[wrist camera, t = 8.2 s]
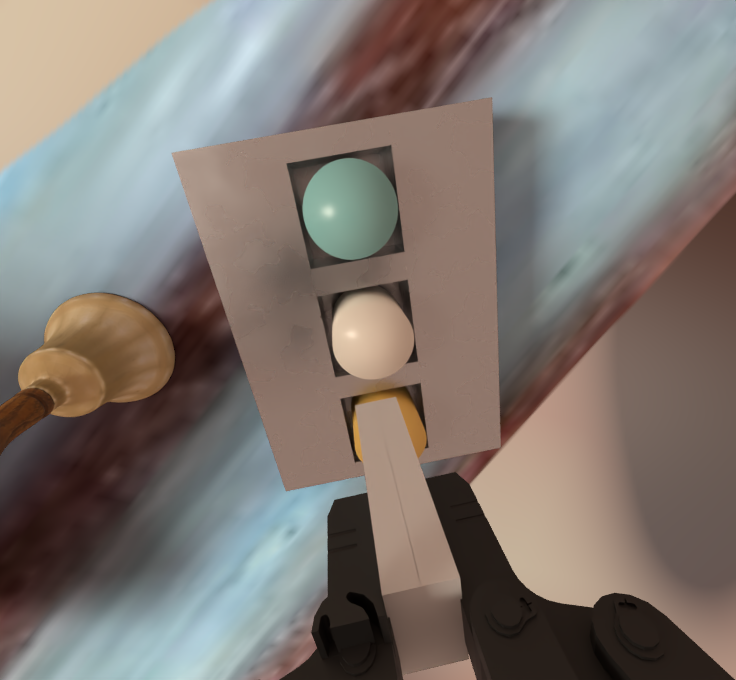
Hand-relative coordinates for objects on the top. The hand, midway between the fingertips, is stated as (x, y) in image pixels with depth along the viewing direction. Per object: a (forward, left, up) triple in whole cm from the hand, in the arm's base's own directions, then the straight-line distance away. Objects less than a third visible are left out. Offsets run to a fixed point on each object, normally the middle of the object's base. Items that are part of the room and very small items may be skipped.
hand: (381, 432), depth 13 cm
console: (+1, 0, -14) cm, 14 cm away
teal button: (+1, +7, -12) cm, 14 cm away
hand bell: (-17, +1, -14) cm, 22 cm away
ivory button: (+1, 0, -12) cm, 12 cm away
